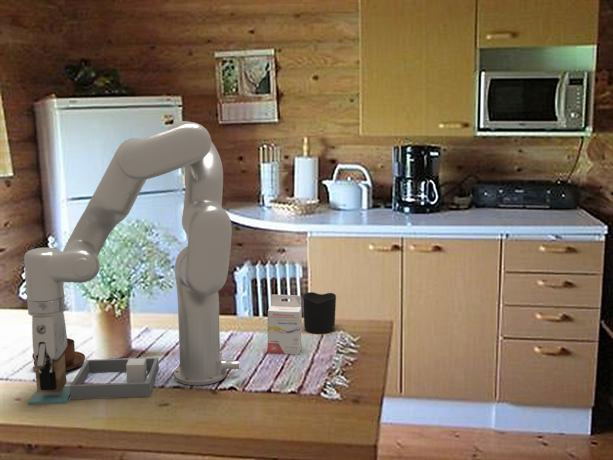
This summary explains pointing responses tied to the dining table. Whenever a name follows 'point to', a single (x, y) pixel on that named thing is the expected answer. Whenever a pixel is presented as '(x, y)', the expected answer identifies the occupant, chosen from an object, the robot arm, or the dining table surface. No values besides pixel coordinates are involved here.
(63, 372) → the walnut block
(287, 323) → the ink cartridge box
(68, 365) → the cup and saucer
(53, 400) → the pad
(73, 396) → the grey square frame
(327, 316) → the pen holder
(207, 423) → the dining table surface
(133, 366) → the pale grey block
